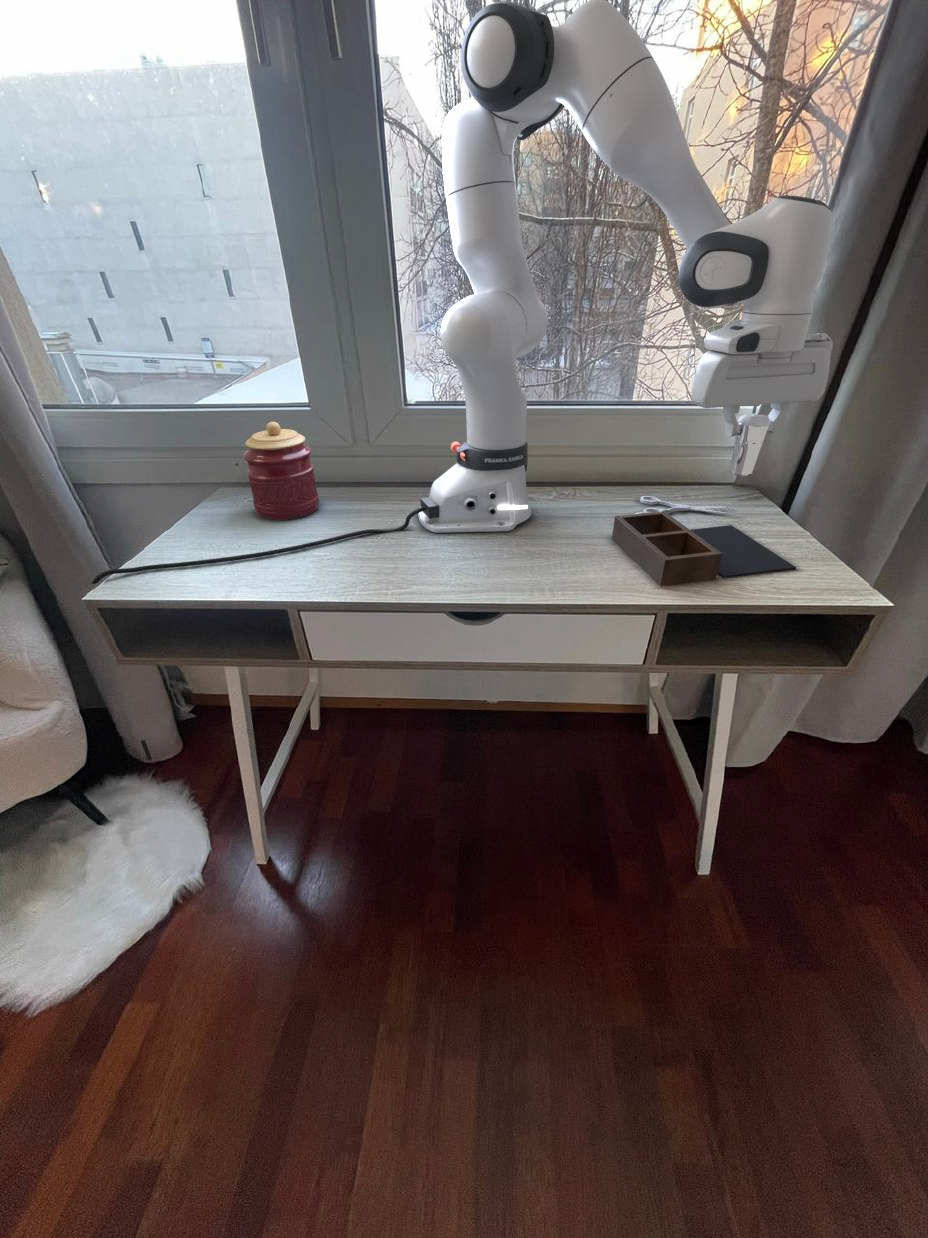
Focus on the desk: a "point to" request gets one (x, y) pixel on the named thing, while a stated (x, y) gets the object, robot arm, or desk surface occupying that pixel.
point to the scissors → (674, 506)
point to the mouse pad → (741, 553)
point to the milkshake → (748, 442)
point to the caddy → (666, 548)
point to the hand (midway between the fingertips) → (748, 433)
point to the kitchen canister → (281, 474)
